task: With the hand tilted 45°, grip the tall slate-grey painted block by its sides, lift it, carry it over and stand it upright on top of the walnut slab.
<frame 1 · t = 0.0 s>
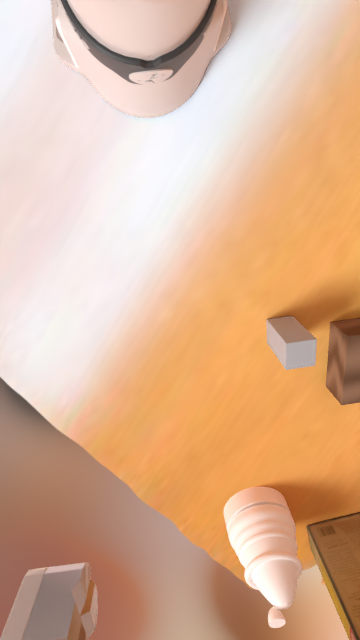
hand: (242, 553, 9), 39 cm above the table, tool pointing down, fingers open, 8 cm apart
slate block: (279, 329, 50), on the table
honey pot: (254, 507, 66), on the table
food packaging: (337, 529, 71), on the table
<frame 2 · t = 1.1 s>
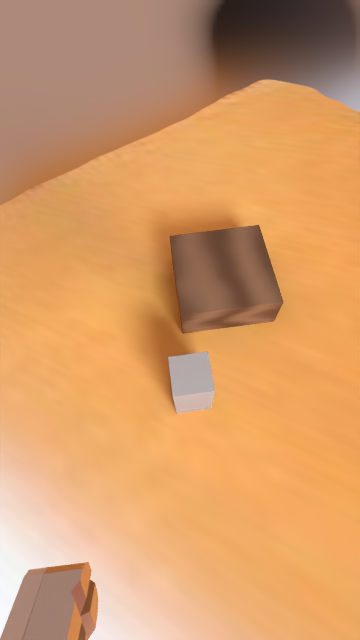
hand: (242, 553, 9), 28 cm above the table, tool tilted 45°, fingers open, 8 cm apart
slate block: (191, 394, 38), on the table
walnut slab: (220, 288, 45), on the table
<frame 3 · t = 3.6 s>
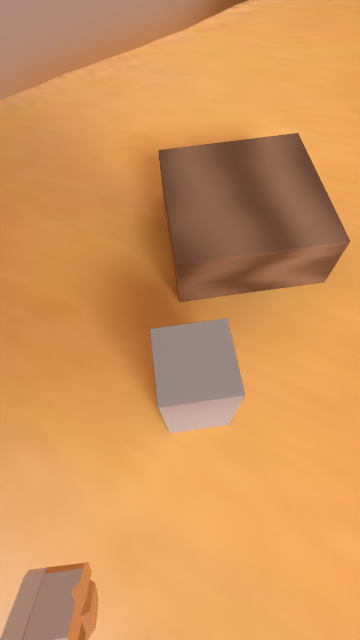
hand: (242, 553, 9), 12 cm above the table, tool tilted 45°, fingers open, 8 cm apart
slate block: (194, 399, 23), on the table
walnut slab: (236, 235, 29), on the table
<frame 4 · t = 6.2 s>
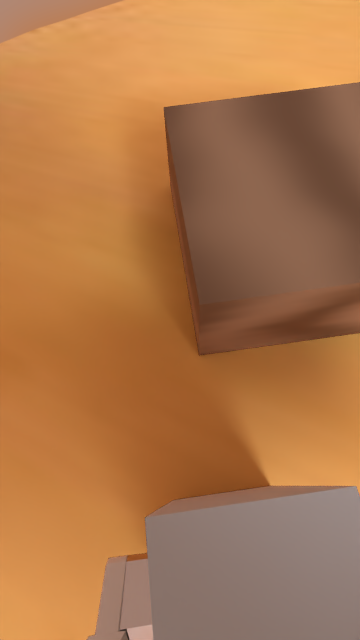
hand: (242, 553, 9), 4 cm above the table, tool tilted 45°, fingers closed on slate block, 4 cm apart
slate block: (232, 552, 12), on the table, touching gripper
walnut slab: (285, 244, 19), on the table
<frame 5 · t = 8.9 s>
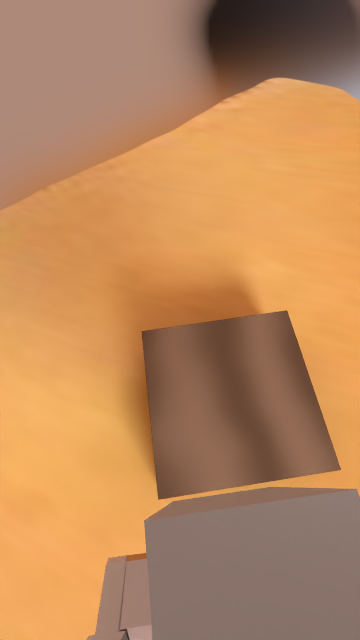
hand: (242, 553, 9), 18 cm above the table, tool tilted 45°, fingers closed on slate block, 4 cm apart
slate block: (232, 553, 12), point 14 cm above the table, touching gripper
walnut slab: (224, 408, 28), on the table
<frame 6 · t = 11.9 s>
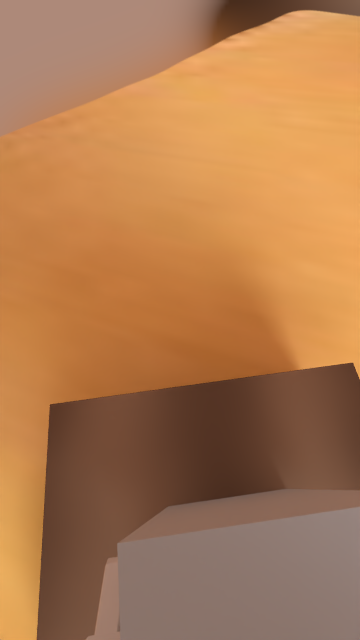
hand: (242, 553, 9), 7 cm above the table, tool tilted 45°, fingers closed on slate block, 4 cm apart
slate block: (240, 571, 10), point 5 cm above the table, touching gripper, walnut slab
walnut slab: (222, 546, 14), on the table
when the fingers open (6 cm above the table, at t = 12.6 s): slate block stays where it is, resting on walnut slab.
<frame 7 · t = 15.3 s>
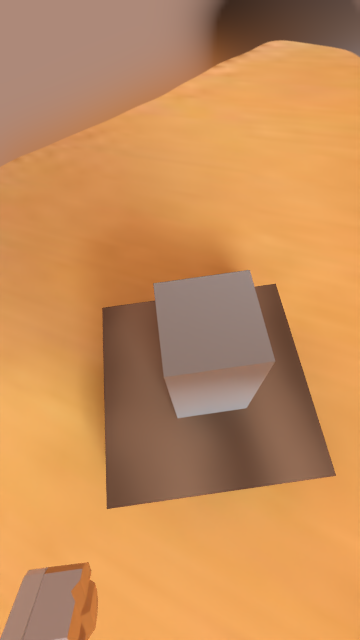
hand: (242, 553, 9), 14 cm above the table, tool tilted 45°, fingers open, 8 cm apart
slate block: (206, 379, 20), point 5 cm above the table, touching walnut slab
walnut slab: (202, 399, 24), on the table
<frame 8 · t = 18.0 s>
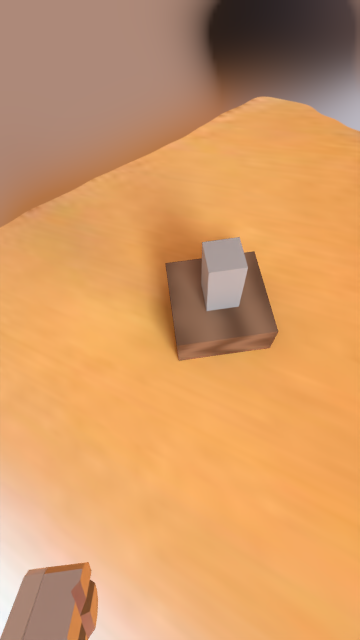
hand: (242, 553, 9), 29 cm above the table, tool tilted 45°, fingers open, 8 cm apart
slate block: (219, 295, 41), point 5 cm above the table, touching walnut slab
walnut slab: (216, 314, 45), on the table
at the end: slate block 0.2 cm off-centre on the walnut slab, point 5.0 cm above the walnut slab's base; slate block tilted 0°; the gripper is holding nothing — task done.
